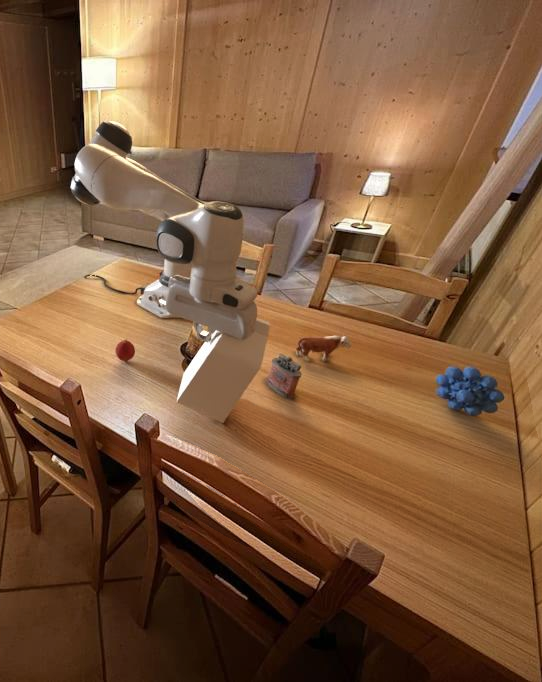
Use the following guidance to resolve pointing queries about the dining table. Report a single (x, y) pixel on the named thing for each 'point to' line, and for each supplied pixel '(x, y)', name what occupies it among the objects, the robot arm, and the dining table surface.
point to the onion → (125, 350)
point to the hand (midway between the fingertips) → (203, 339)
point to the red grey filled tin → (284, 376)
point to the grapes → (469, 390)
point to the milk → (222, 372)
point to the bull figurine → (321, 345)
